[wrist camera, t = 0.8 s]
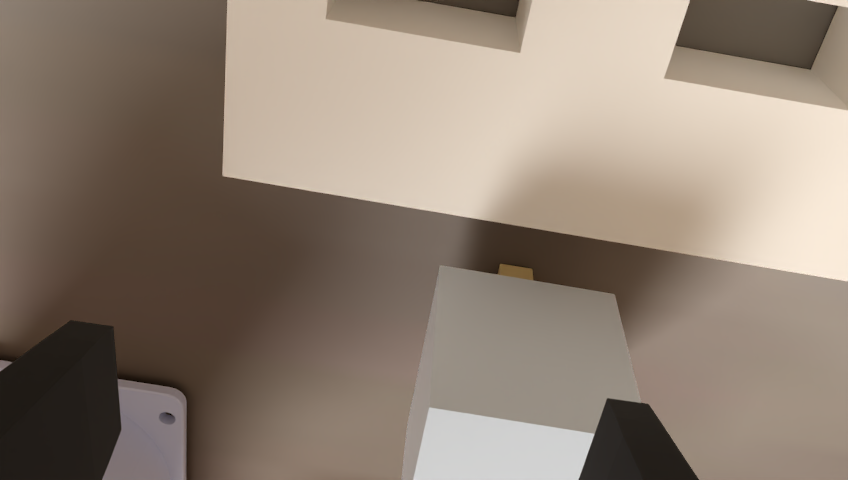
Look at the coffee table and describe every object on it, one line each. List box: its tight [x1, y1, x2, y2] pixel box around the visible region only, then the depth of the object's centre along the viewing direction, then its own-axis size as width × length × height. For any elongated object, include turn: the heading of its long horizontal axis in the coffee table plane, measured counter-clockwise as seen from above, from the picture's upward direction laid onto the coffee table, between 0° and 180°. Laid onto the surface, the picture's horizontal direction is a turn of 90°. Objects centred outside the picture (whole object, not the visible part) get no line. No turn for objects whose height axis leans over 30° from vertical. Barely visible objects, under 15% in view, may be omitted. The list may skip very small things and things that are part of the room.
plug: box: [402, 264, 641, 480], centre depth 20 cm, size 6×4×7 cm
